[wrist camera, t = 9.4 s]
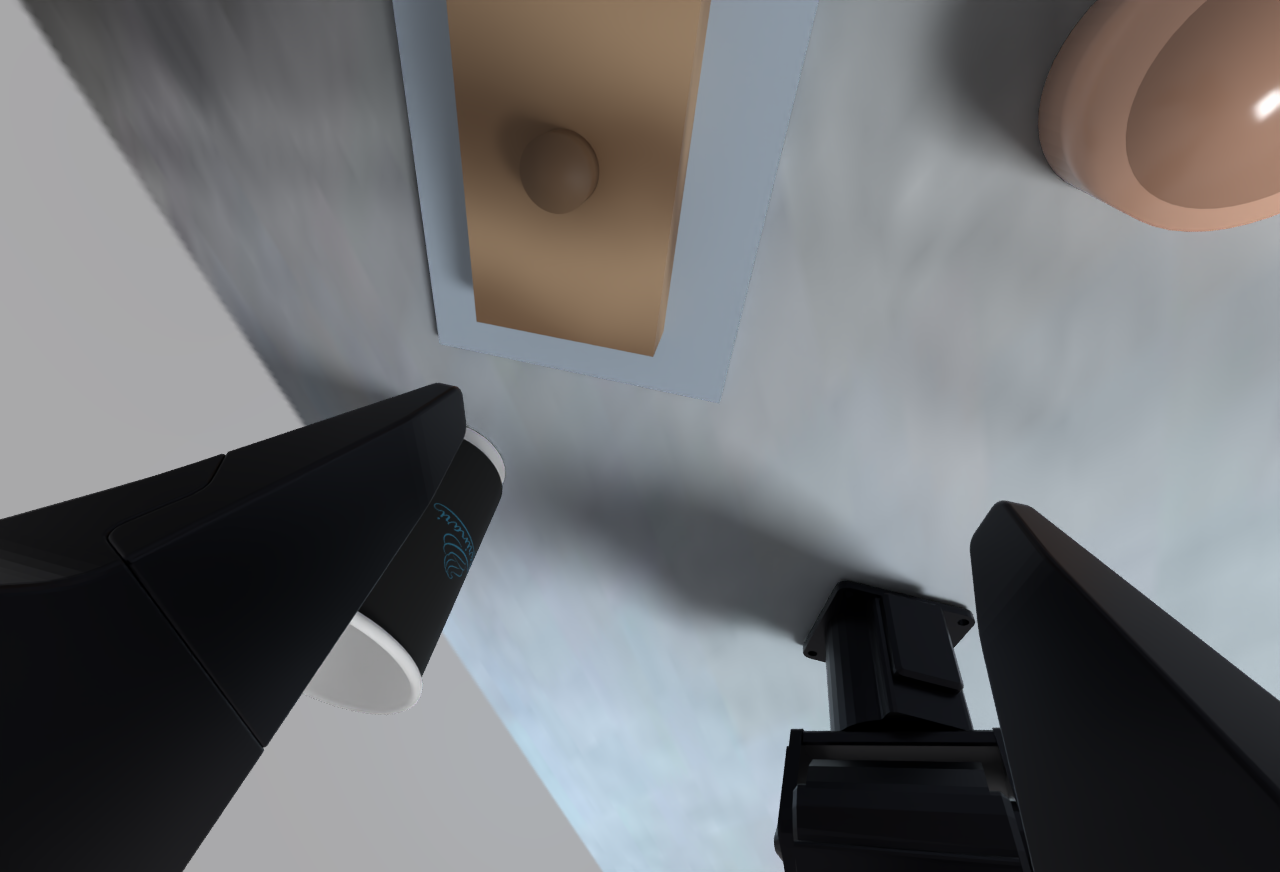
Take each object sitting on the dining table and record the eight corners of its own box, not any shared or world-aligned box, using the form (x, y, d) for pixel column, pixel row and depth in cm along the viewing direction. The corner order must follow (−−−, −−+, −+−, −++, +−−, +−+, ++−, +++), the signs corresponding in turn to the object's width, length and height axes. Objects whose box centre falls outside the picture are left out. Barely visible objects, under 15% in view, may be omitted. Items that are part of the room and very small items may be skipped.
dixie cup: (364, 448, 28) (180, 628, 20) (433, 363, 24) (235, 548, 15) (483, 536, 31) (364, 732, 22) (565, 474, 26) (459, 688, 18)
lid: (663, 331, 20) (647, 371, 18) (500, 300, 21) (463, 333, 18) (721, -69, 13) (707, -92, 11) (475, -96, 14) (411, -123, 12)
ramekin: (1205, 211, 15) (1302, 252, 12) (996, 178, 15) (1042, 209, 13) (1406, -61, 11) (1605, -93, 9) (1127, -91, 12) (1230, -130, 9)
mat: (720, 396, 22) (719, 403, 21) (445, 338, 23) (439, 344, 22) (866, -198, 12) (869, -207, 11) (369, -245, 13) (357, -254, 13)
